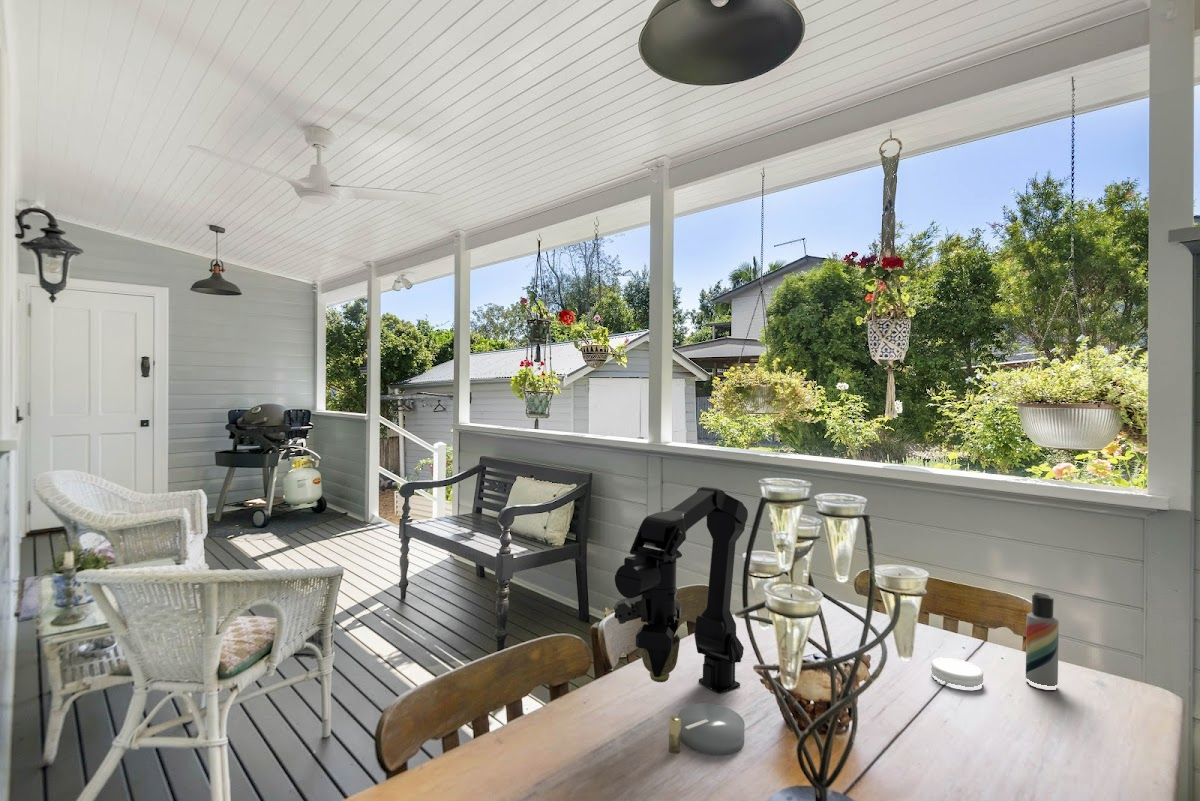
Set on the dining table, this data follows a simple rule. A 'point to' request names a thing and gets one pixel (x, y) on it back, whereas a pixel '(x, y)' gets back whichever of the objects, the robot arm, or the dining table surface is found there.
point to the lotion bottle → (1042, 642)
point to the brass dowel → (674, 734)
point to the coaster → (957, 672)
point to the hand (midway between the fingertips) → (659, 668)
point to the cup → (669, 663)
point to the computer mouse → (711, 729)
